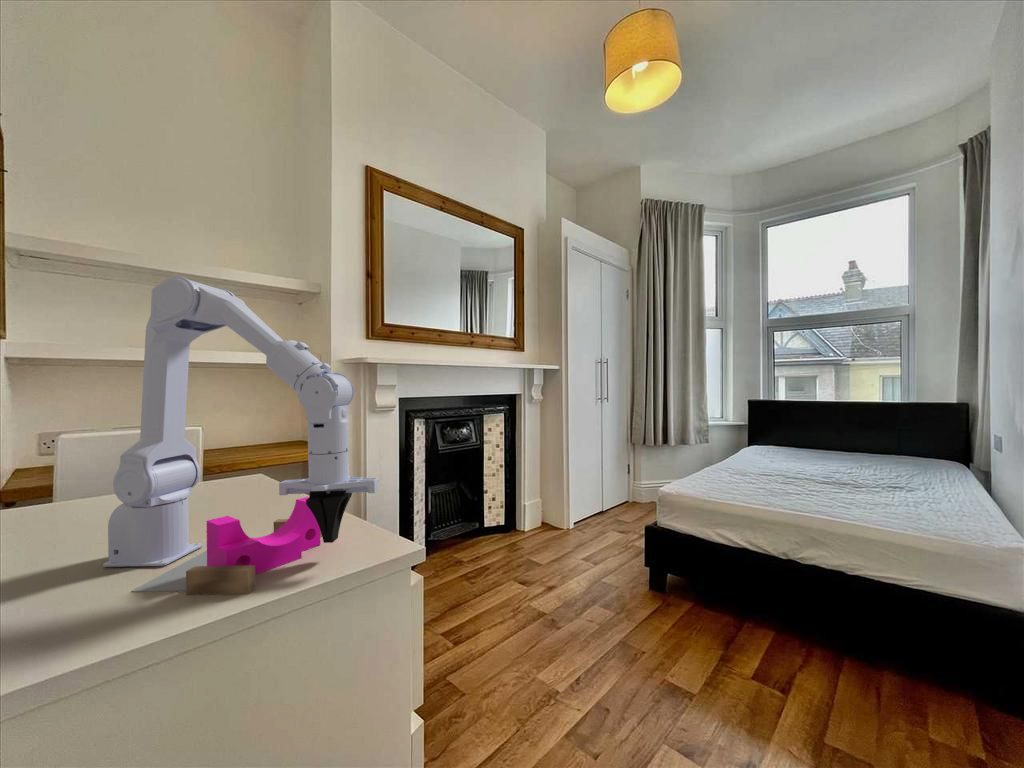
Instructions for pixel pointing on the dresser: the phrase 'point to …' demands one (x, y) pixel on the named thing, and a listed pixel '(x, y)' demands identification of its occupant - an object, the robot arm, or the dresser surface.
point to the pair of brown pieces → (223, 576)
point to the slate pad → (173, 577)
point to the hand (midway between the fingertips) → (330, 540)
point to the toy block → (262, 541)
